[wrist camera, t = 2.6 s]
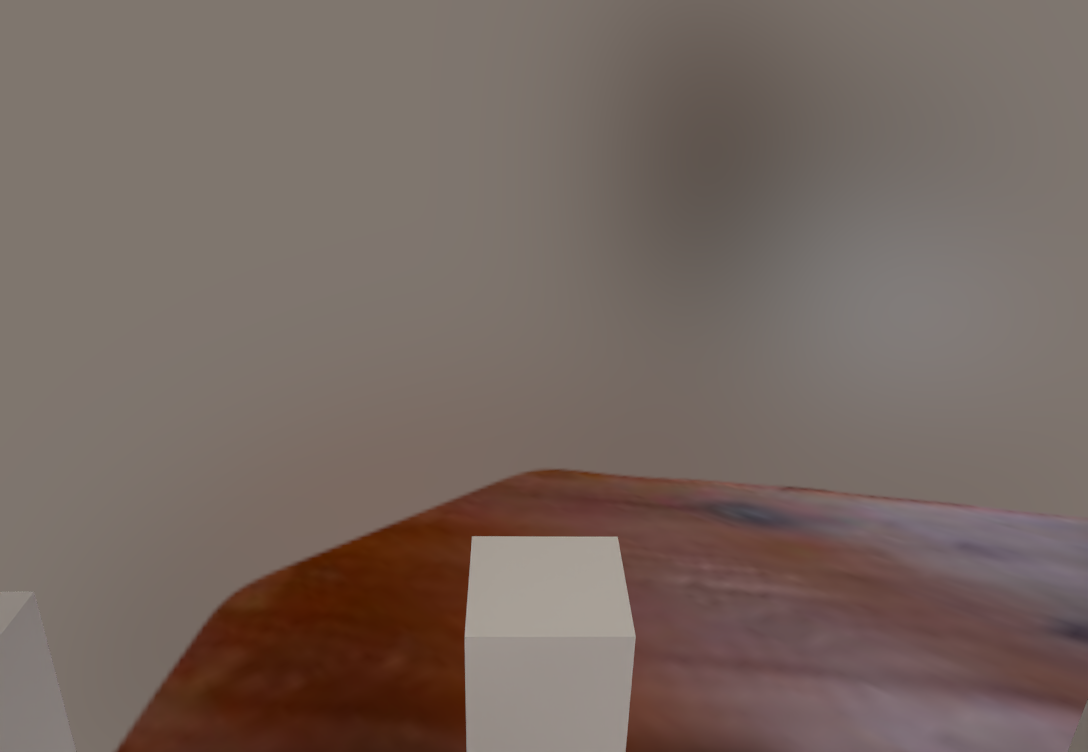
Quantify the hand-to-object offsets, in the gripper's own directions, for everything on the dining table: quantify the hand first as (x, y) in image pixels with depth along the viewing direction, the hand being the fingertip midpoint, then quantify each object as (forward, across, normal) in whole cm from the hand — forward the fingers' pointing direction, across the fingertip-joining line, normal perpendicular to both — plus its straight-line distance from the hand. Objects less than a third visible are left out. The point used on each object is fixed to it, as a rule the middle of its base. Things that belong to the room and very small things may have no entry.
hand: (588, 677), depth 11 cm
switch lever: (+10, 0, -20) cm, 22 cm away
